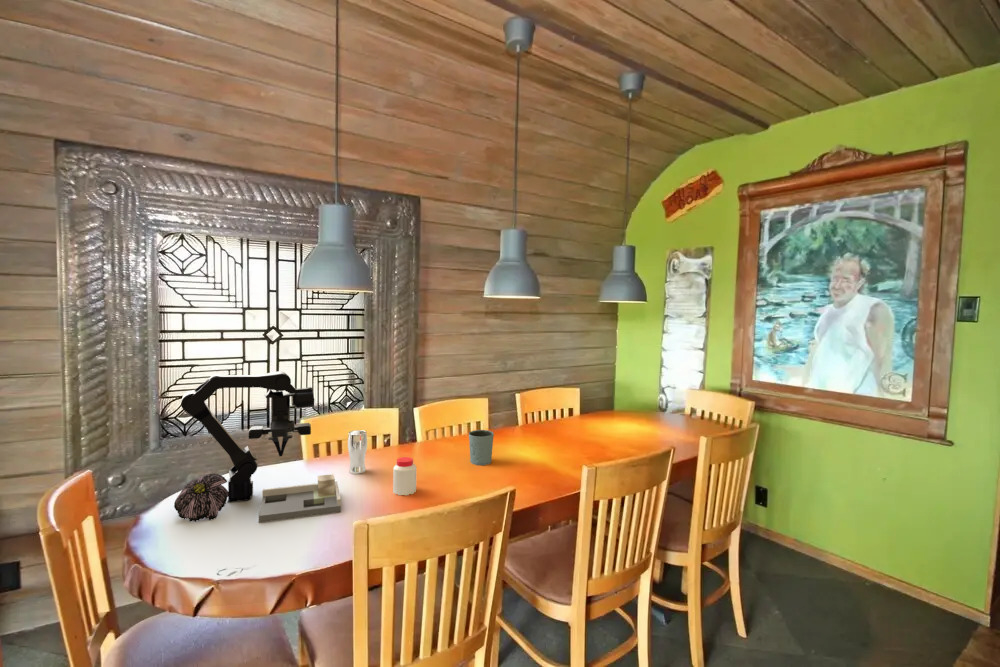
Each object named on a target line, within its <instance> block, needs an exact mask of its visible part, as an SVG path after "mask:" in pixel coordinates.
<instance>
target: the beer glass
mask: <svg viewBox="0 0 1000 667" xmlns="http://www.w3.org/2000/svg"><path fill="white" fill-rule="evenodd" d="M367 435H368V434H367V431H366V430H364V429H363V430H362V429H355V430H350V431H348V436H347V450H348V456H349V468H348V473H350V474H351V475H360V474H363V473H365V472H366V462H365V461H366V455H367V448H368V436H367Z"/></svg>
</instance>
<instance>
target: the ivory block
mask: <svg viewBox="0 0 1000 667" xmlns="http://www.w3.org/2000/svg"><path fill="white" fill-rule="evenodd" d="M335 481H336V478H335V474H334V473H333V474H332V473H331V474H323V475H322V474H321V475H317V483H318V496H327V495H335Z"/></svg>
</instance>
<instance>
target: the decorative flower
mask: <svg viewBox="0 0 1000 667" xmlns="http://www.w3.org/2000/svg"><path fill="white" fill-rule="evenodd" d="M227 483H228V480H227V479H226V478H225V476H223V475H221V474H219V473H207V474H203V475H201V476H200V477H197V478H195V479H192V480H190V481H189V482H187V483H186V484H185V485H184V486H183V488H182V489H181V491H180V493H179V495H177V497H176V499H175V501H174V505H173V507H174V510H175V511H176V513H177V514H178V515H177V516H178V517H179V518H180V519H182V518H184V519H183V520H187V519H188V521H189V523H191V522H194V523H196V522H197V521H198V522H200V520H203V519H207V520H208V521H212V520H215V519H216V518H217V517H218V514H219V512H221V511H222V509H223V508H224V507H226V506H225V505H226V504H227V500H228V496H229V492H228V488H226V487H225V486H224V485H223V484H227ZM185 518H186V519H185ZM214 518H215V519H214ZM211 519H212V520H211Z"/></svg>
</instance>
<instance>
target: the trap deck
mask: <svg viewBox="0 0 1000 667" xmlns="http://www.w3.org/2000/svg"><path fill="white" fill-rule="evenodd" d="M338 483H339V482H338V480H337V481H336V480H335V495H327V496H318V482H316V483H307V484H300V485H292V486H291V485H289V486H282V487H271V488H263V489H262V496H261V497H262V498H261V502H260V506H259V508H260V509H259V512H258V523H259V524H260V523H267V522H269V523H270V522H275V521H282V520H283V521H284V520H290V519H299V518H305V517H314V516H321V515H328V514H337V513H341V511H342V503H341V502H342V500H341V494H340V489H339V484H338Z"/></svg>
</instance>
